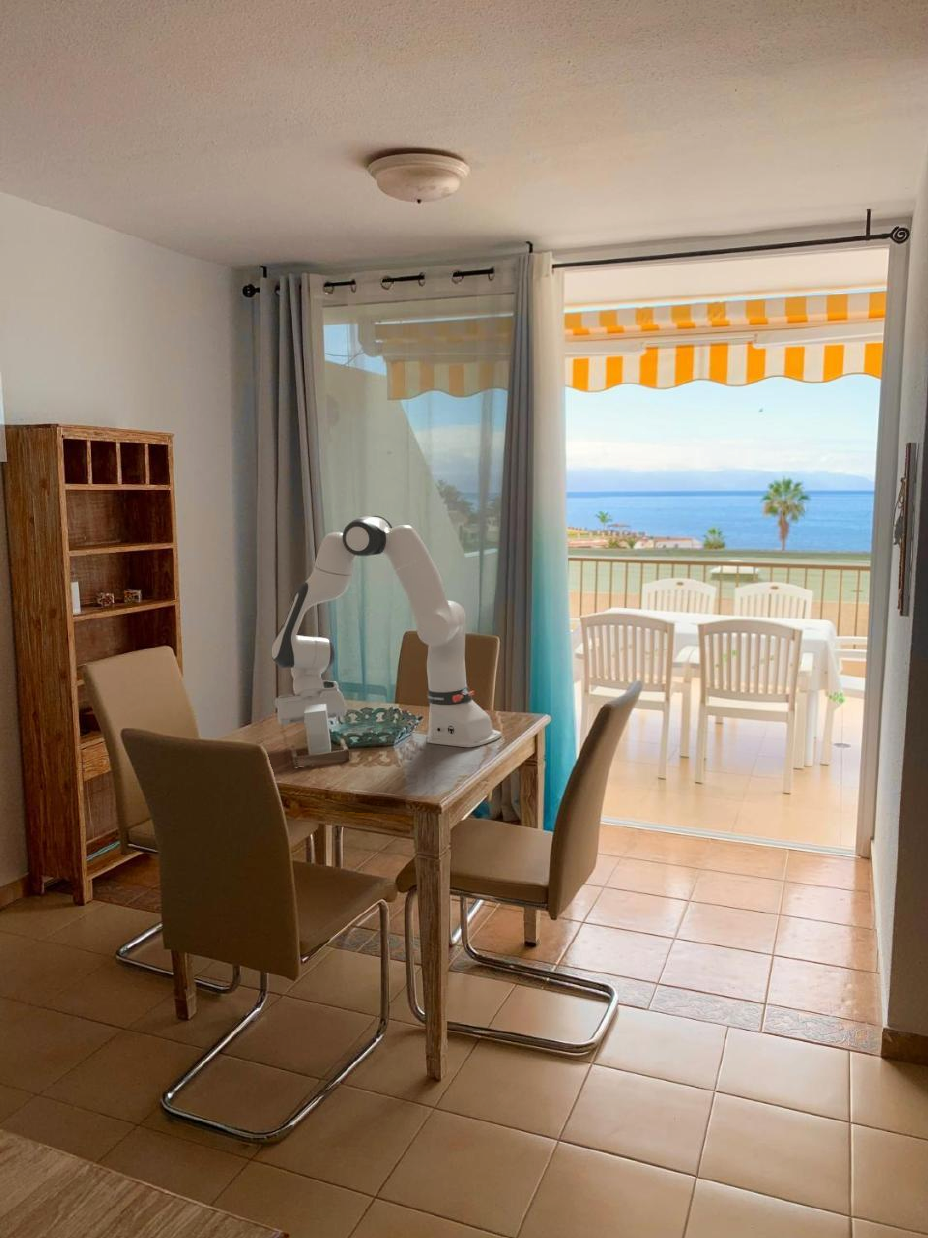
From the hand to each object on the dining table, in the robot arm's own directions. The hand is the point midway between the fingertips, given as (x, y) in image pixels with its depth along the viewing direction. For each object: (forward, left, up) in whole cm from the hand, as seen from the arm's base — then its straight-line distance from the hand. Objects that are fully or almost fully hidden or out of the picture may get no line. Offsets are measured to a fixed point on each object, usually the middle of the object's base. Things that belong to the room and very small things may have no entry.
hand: (315, 731), depth 280 cm
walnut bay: (-10, +6, -5) cm, 12 cm away
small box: (-4, +2, -5) cm, 7 cm away
